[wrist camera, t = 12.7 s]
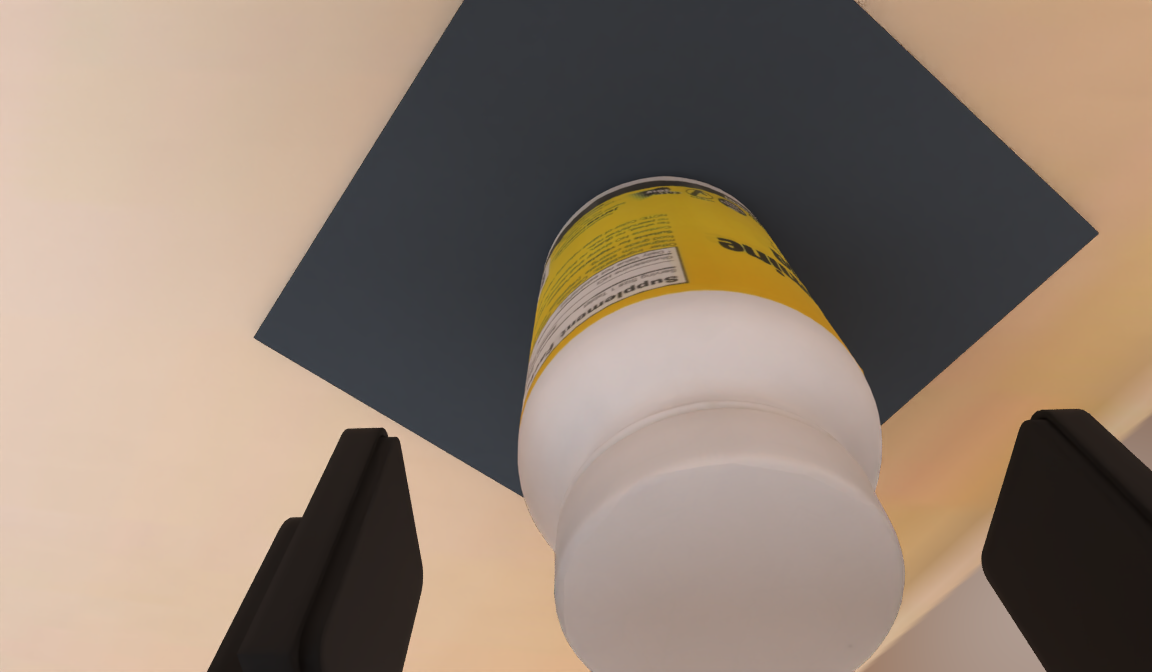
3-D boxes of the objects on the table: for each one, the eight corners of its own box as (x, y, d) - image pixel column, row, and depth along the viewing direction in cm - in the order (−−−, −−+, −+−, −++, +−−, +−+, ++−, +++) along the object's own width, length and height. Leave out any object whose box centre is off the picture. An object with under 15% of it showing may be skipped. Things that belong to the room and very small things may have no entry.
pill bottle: (812, 319, 20) (1032, 664, 10) (615, 417, 22) (641, 801, 12) (708, 119, 18) (865, 317, 8) (495, 246, 19) (401, 545, 9)
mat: (608, -231, 15) (609, -233, 15) (1095, 230, 19) (1099, 233, 19) (255, 334, 21) (252, 337, 20) (687, 590, 25) (688, 595, 25)
